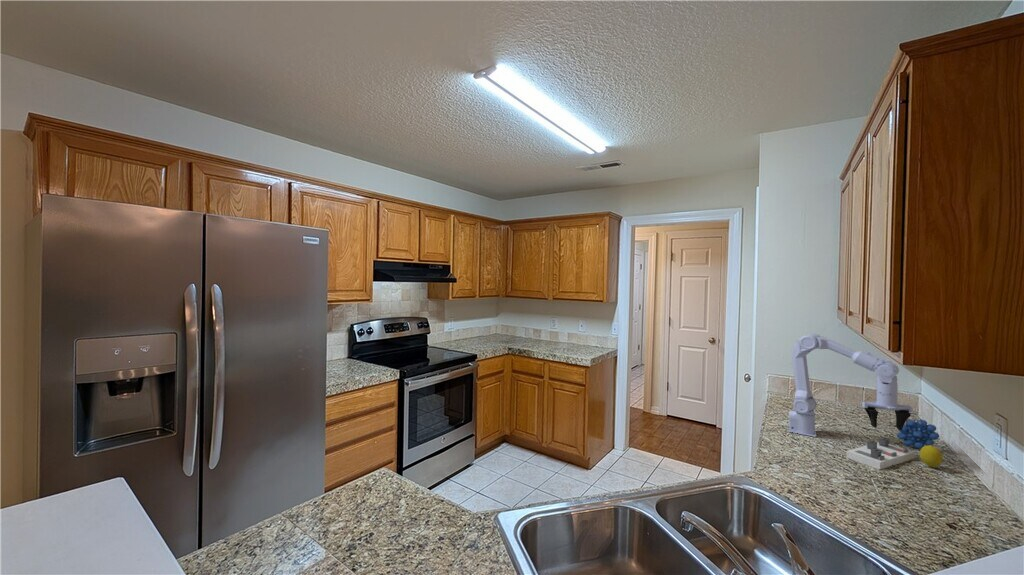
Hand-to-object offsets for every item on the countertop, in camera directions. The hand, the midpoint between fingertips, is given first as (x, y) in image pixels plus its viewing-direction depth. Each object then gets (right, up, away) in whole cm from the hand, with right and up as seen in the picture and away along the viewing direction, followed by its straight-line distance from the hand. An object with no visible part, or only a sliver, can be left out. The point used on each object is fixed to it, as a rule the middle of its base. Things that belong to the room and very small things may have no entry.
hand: (886, 427), depth 146 cm
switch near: (-12, -7, -8) cm, 17 cm away
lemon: (+6, -11, -10) cm, 16 cm away
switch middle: (-7, -7, -1) cm, 10 cm away
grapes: (+18, -10, +6) cm, 22 cm away
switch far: (+1, -7, +2) cm, 8 cm away
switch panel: (-6, -10, -3) cm, 12 cm away
